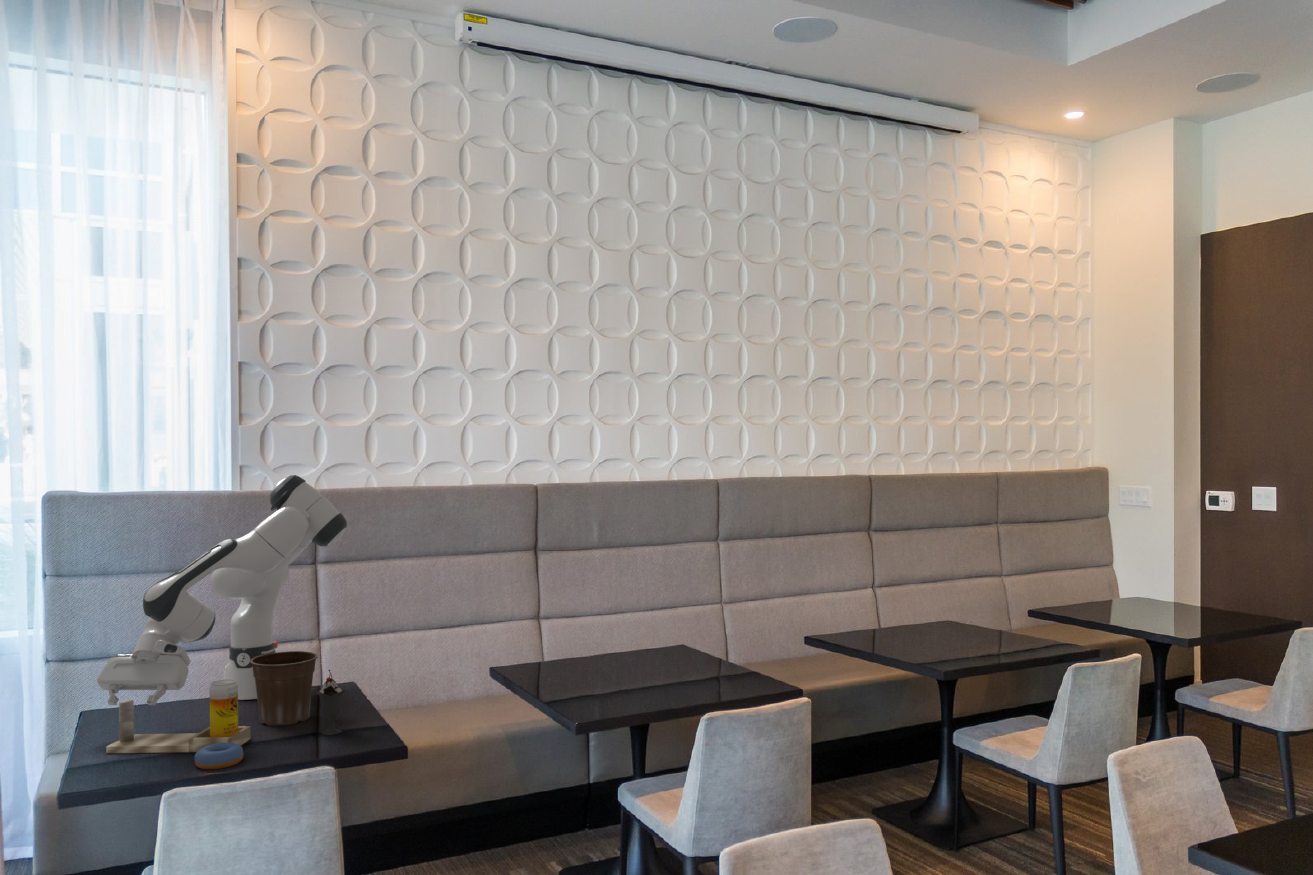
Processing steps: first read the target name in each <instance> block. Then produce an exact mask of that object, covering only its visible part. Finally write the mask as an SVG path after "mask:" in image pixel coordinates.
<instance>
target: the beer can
mask: <svg viewBox="0 0 1313 875" xmlns="http://www.w3.org/2000/svg"><path fill="white" fill-rule="evenodd" d="M238 726H239V700H238V685H237V683H236V680H230V679H228V680H224V679H219V680H215V681H212V682H211V685H210V686H209V727H210V737H231V736H232V735H234V734H235V733H237V732H238Z"/></svg>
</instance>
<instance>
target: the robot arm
mask: <svg viewBox="0 0 1313 875" xmlns="http://www.w3.org/2000/svg"><path fill="white" fill-rule="evenodd" d="M269 503H270V506H271V507H270V511H271V512H272V511H274V510H275V511H274V512H273V513H271V514H270V515H269V516H268V517H266V518H265V519H263V520H262V521H261V522H260V523H259V524H258V525H256V526H255V527H254V528H253V529H252V530H251V531H249V533H246V534H244V535H243V536H241V537H238V538H235V539H231V538H228V539H224V540H222V541H221V542H218V543H216V544H215V545H214V546H212V547H211V548H209V549H207V550H205V552H204V551H203V553H201V554H200V555H198V556H197V557H196V558H194V559H193V560H191V561H190V562H188V563H187V564H186V565H184V566H183V567H181V568H180V569H178V570H176V571H175V572H174V573H172V574H171V575H169V576H167V577H165V578H163V579H162V580H159V581H157V582H156V583H154V584H153V585H152V586H150V587H149V588H148V589H147V590H146V592H145V593H144V595H143V598H142V607H143V612H144V615H145V616H147V617H148V618H147V620H146V623H145V626H144V631H143V632H142V634H141V635H140V637H139V638H138V640H137V642H136V644H135V647H134V648H133V651H132V653H130V654H129V653H126V654H121V653H119V654H116V655H114V656H112V657H110V658H109V659H108V660H107V662H106V664H105V666H104V667H103V668H102V670H101V672H100V673H99V675H98V676H97V679H96V683H97V685H98V686H99V687H100V689H102V690H103V691H108V694H109V697H108V699H107V705H109V706H117V705H118V703H119V702H120V701H119V698H118V696H117V695H116V694H118V693H119V691H155V692H154V693H153V694H152V695H150V694H149V695H148V697H147V699H146V704H147V705H148V706H156V705H157V702H158V700H159V699H161V698H162V697H163V696H164V695H166V692H167V691H179V690H181V689H182V688H183V687H184V686H185V684H186V681H187V678H188V676H189V675H188V674H189V666H190V664H191V659H190V657H189V654H188V653H187V651H186V649H184V648H183V647H182V646H181V645H178V644H179V643H181V644H189V643H194V642H198V641H202V640H203V639H206V638H207V637H208V636H209V635H210V633H211V632H212V630H213V628H214V625H215V623H216V617H217V616H216V613H215V611H214V610H213V609H212V608H211V607H209V605H208V604H206V603H205V602H203V601H202V600H200V599H199V598H197V597H196V596H195V595H194V594H193V593H191V592H190V591H188V590H189V589H191V588H192V587H194V585H196V584H198V583H199V582H200V581H201V580H203V579H204V578H206V577H207V576H209V575H210V574H211V577H210V584H211V585H210V586H211V588H212V591H213V592H214V594H215V595H216V596H218V597H219V598H221V599H227V600H240V603H239V604H240V605H239V607H238V608H237V610H236V611H235V613H234V614H233V615H232V617H231V618H230V646H229V648H228V649H229V650H228V657H229V658H228V659H229V662H228V663H227V664H226V665H225V666H224V673H223V674H224V675H223V680H228V679H230V680H236V683H237V685H238V701H244V700H246V701H247V700H257V692H256V683H255V677H254V676H253V667H252V664H251V663H250V660H251V659H252V658H254V657H257V656H260V655H264V654H270V653H277V652H276V649H277V648H278V647H279V644H278V643H279V642H278V641H273V637H274V636H273V629H274V628H273V625H274V614H275V613H274V612H275V608H276V606H277V601H278V598H279V596H280V593H281V591H282V589H283V587H284V586H285V585H286V584H287V582H288V581H289V577H290V568H289V565H291V564H292V563H293V562H294V561H295V560H296V559H297V558H298V557H299V556H300V554H302V553H303V552H304V550H305V549H307V547H308V546H309V545H310V544H311V543H313V544H315V545H317V546H318V547H328V546H329V545H332V544H333V545H334V544H335V543H336V542H337V541H339V540H340V539H341V538H342V536H343V535H344V533H345V531H346V528H347V526H348V521H347V519H346V518H345V517H344V514H342V512H339V510H338V509H337V508H336V507H335V506H334V504H332V503H331V501H330V500H329V499H328V498H327V497H326V496H323V495H322V494H321V493H320V492H319V491H318V490H317V489H316V488H314V487H313V486H312V485H310V484H309V483H308V482H306V480H305V479H304V478H303V477H300V476H299V475H296V474H292V475H289V476H287V477H285V478H282V479H280V480H279V481H277V483H276V484H275V485H274V487H273V488H272V491H271V492H270V495H269Z"/></svg>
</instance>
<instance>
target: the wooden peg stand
mask: <svg viewBox="0 0 1313 875" xmlns="http://www.w3.org/2000/svg"><path fill="white" fill-rule="evenodd" d="M134 701H135V700H132V699H125V700H122V701H121V700H120V701H118V711H119V712H118V716H119V717H118V720H119V721H118V723H119V724H118V726H119V727H118V728H119V730H118V732H119V733H118V734H119V737H118V738H119V739H118V740H116V741H114V742H112V743H110V744H108V745H107V746H106V747H105V748H106V749H105V753H106V754H141V753H142V754H143V753H144V754H146V753H147V754H150V753H151V754H152V753H154V754H155V753H196V752H197V751H198V750H199V749H201V748H203V747H205V746H208V745H212V744H217V743H236V744H238V745H240V746H241V747H242V746H243V745H244V744H245V743H247V742H248V741H250V740H251V725H248V726H247V725H241V726H239V725H238V732H237V733H235V734H234V735H232V736H231V737H210V726H208V727H206V728H204V729H203V730H200V732H198V733H197V732H193V733H191V732H190V733H189V732H188V733H135V728H134V727H135V724H134V723H135V719H134V718H135V716H134V715H135V712H134V710H135V707H134V704H135V702H134Z"/></svg>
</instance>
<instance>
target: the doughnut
mask: <svg viewBox="0 0 1313 875" xmlns="http://www.w3.org/2000/svg"><path fill="white" fill-rule="evenodd" d="M243 758H244V750H243V746H242V745H241V746H240V745H238V744H236V743H217V744H212V745H208V746H205V747H203V748H201V749H199V750H198V751H197V752H195V754H194V764H195V766H196V767H197V768H199V769H202V770H218V769H224V768H229V767H233V766H235V765H237V764H239V763H241V761H242V760H243Z"/></svg>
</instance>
